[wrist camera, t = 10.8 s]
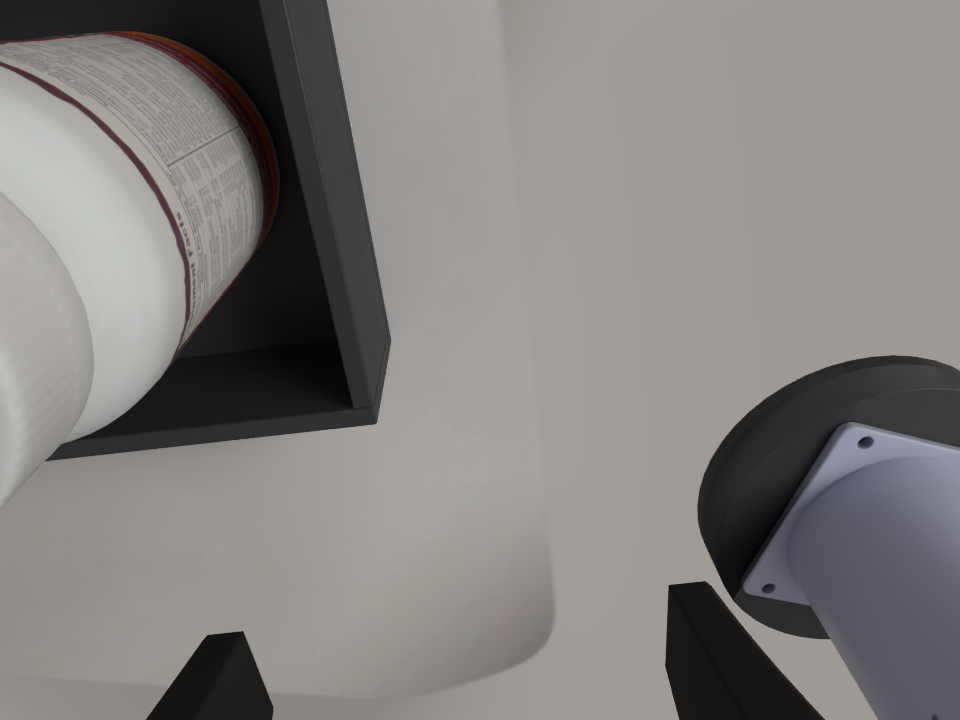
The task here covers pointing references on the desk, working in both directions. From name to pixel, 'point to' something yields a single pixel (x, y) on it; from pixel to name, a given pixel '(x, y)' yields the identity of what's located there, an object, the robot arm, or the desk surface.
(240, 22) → the waste bin
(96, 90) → the pill bottle
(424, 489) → the desk surface
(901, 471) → the robot arm
